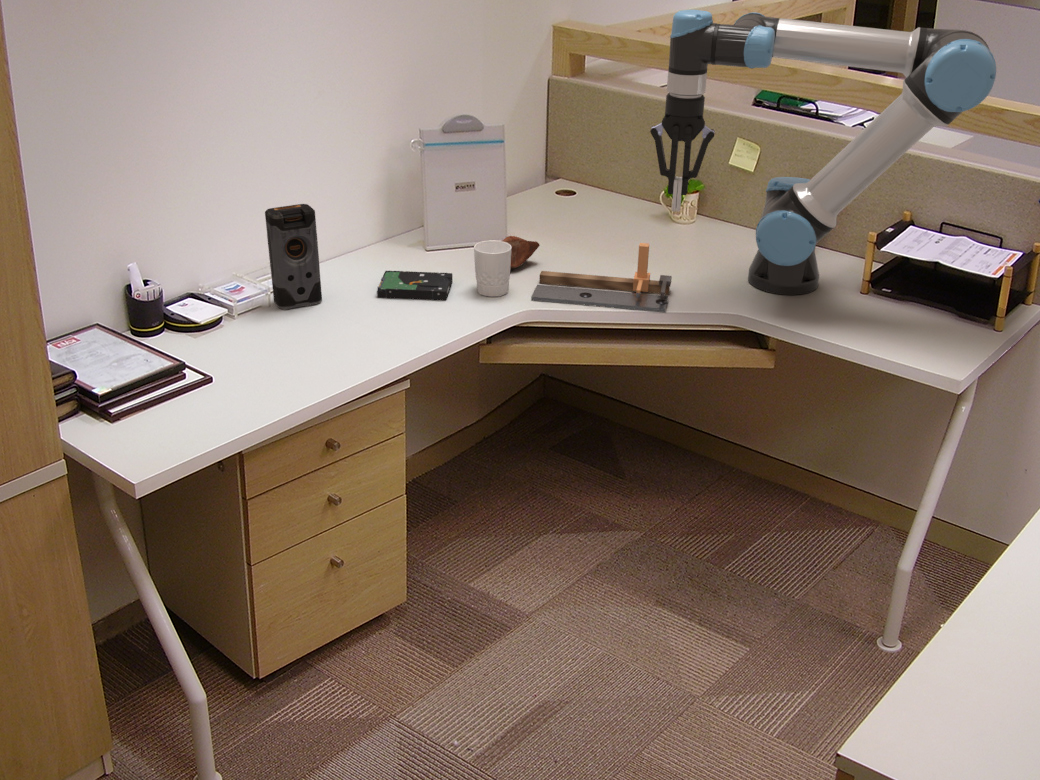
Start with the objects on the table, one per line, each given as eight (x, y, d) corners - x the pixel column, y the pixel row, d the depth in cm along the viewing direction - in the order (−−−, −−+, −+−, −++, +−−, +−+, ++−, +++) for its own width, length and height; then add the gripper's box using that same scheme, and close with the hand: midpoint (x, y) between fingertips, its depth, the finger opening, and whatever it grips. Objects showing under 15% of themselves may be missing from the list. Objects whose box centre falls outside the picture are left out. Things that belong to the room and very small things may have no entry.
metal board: (669, 299, 227) (669, 295, 227) (666, 312, 221) (666, 308, 221) (537, 288, 232) (537, 284, 231) (531, 300, 226) (531, 296, 225)
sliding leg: (649, 284, 233) (652, 242, 228) (645, 302, 224) (648, 258, 220) (634, 283, 233) (637, 240, 229) (629, 301, 225) (632, 257, 220)
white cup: (506, 299, 226) (507, 254, 221) (470, 296, 227) (469, 251, 223) (514, 285, 233) (514, 241, 228) (479, 282, 234) (478, 238, 230)
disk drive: (452, 284, 235) (385, 281, 235) (452, 272, 233) (384, 269, 234) (447, 303, 226) (376, 300, 226) (447, 291, 224) (376, 287, 225)
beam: (670, 289, 232) (671, 275, 230) (667, 307, 224) (668, 292, 222) (541, 278, 237) (542, 264, 235) (533, 295, 228) (534, 281, 227)
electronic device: (280, 311, 219) (271, 217, 210) (272, 301, 224) (262, 208, 214) (324, 303, 223) (317, 210, 214) (315, 293, 228) (307, 202, 218)
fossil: (542, 244, 246) (527, 216, 238) (546, 271, 241) (532, 244, 233) (490, 261, 248) (474, 234, 241) (493, 289, 244) (477, 262, 236)
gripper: (720, 91, 213) (709, 206, 224) (653, 87, 216) (645, 201, 227) (719, 100, 207) (707, 217, 218) (650, 96, 209) (642, 212, 220)
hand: (676, 209), depth 222 cm, fingers closed
